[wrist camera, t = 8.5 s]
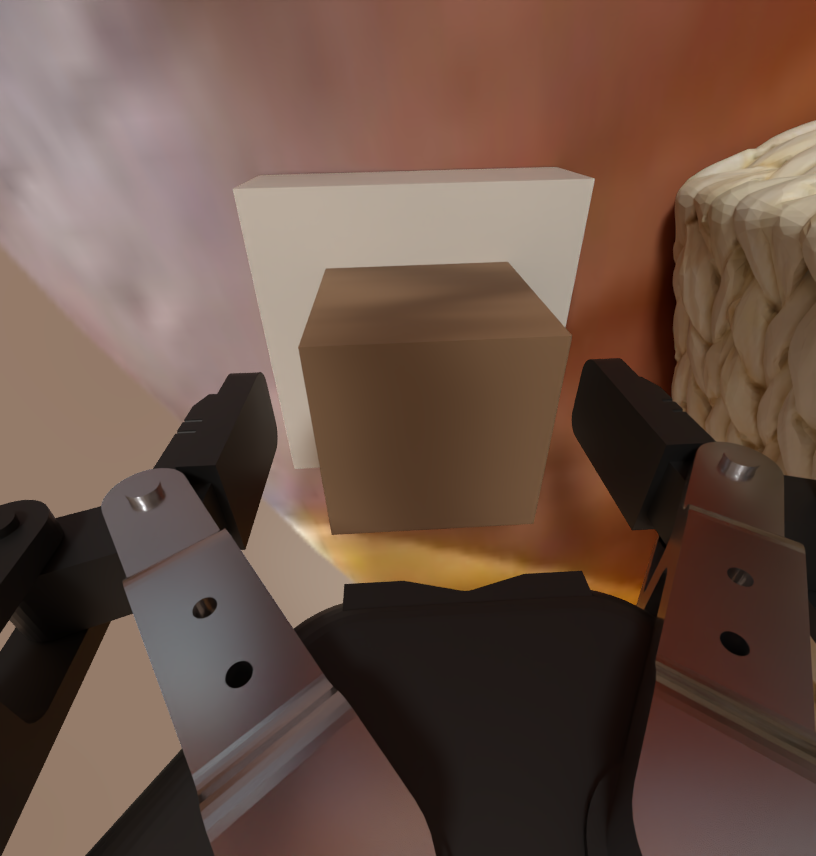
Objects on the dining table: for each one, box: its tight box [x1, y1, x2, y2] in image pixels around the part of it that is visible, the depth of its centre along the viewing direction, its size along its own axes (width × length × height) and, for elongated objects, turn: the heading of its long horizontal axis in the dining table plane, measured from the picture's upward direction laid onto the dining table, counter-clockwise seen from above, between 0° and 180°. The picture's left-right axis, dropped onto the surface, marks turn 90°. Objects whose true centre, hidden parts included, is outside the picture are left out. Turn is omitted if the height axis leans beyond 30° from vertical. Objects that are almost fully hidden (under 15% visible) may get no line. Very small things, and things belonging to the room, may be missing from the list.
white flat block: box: [233, 167, 595, 469], centre depth 15 cm, size 9×9×3 cm
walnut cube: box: [298, 262, 572, 535], centre depth 12 cm, size 5×5×5 cm
